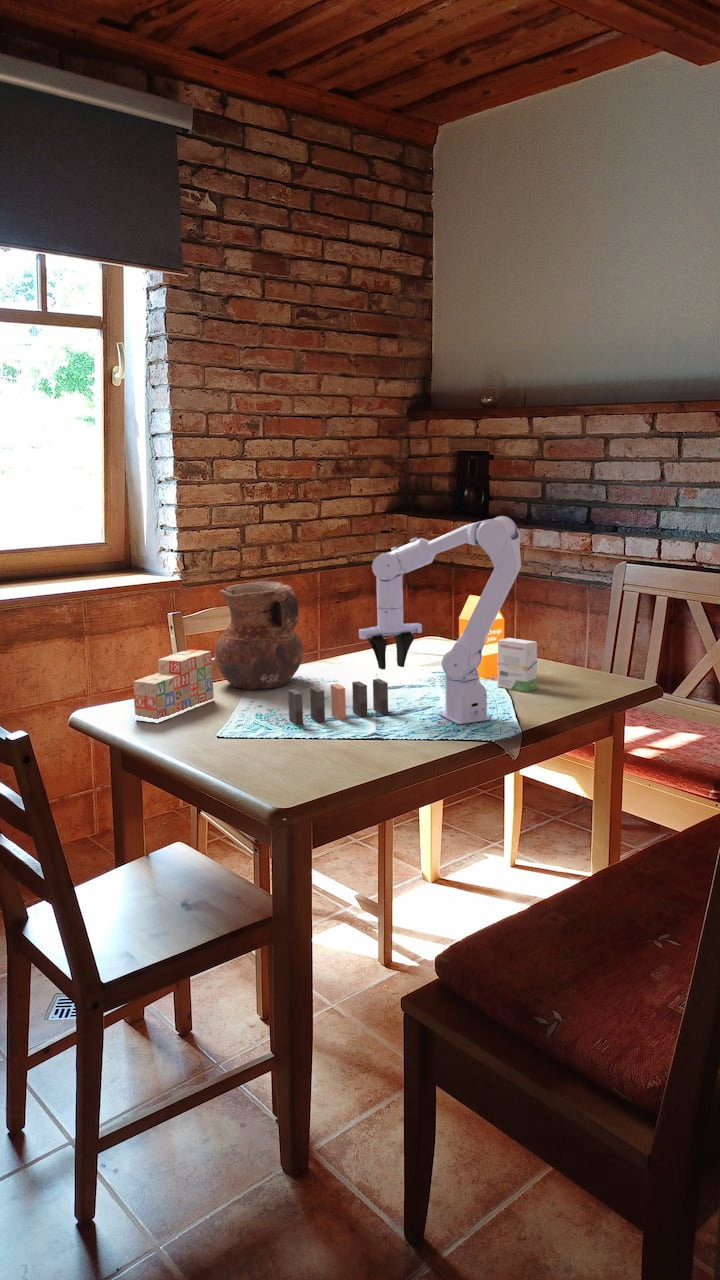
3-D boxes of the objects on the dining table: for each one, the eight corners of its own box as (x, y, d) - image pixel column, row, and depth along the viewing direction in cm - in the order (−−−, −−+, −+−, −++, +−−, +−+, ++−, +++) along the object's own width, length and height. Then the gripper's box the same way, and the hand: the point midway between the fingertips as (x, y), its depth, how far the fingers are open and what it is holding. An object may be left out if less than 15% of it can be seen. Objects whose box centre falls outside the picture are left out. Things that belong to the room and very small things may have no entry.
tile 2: (367, 716, 214) (366, 685, 213) (360, 717, 214) (360, 686, 212) (359, 711, 218) (358, 681, 217) (353, 712, 218) (352, 682, 216)
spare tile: (345, 719, 213) (345, 687, 211) (339, 720, 212) (338, 688, 211) (338, 714, 217) (337, 683, 215) (331, 715, 216) (330, 684, 215)
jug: (205, 693, 237) (200, 591, 233) (228, 673, 258) (224, 579, 253) (295, 694, 234) (291, 591, 229) (311, 674, 255) (308, 579, 250)
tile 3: (325, 722, 211) (324, 690, 209) (318, 723, 210) (317, 691, 209) (317, 717, 215) (316, 686, 213) (310, 718, 214) (309, 687, 213)
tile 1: (388, 713, 216) (387, 682, 215) (381, 714, 216) (381, 683, 214) (379, 708, 220) (379, 678, 219) (373, 709, 220) (372, 679, 218)
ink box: (537, 688, 235) (538, 640, 233) (526, 692, 232) (526, 644, 229) (508, 683, 241) (508, 636, 238) (496, 687, 237) (496, 639, 235)
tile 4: (303, 725, 209) (302, 693, 207) (296, 726, 208) (295, 694, 207) (296, 720, 213) (295, 689, 211) (289, 721, 212) (288, 690, 211)
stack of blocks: (158, 725, 212) (154, 669, 209) (135, 722, 214) (131, 667, 212) (214, 701, 230) (211, 650, 228) (192, 698, 233) (189, 648, 231)
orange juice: (479, 668, 257) (479, 593, 253) (504, 674, 250) (505, 596, 247) (458, 673, 252) (458, 596, 249) (483, 679, 246) (483, 600, 242)
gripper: (411, 601, 221) (412, 660, 223) (352, 607, 215) (354, 667, 218) (425, 605, 214) (426, 666, 217) (365, 612, 209) (367, 674, 211)
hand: (391, 667), depth 217 cm, fingers open, 4 cm apart
